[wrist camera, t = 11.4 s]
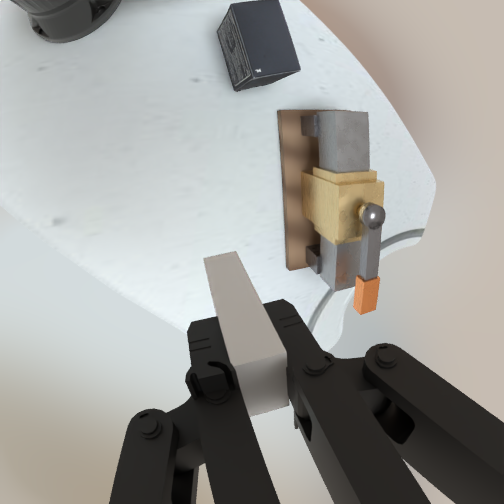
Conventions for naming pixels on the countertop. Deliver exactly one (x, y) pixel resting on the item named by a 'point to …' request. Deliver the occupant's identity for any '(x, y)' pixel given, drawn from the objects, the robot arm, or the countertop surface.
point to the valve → (338, 193)
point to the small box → (257, 44)
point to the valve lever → (369, 258)
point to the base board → (296, 184)
